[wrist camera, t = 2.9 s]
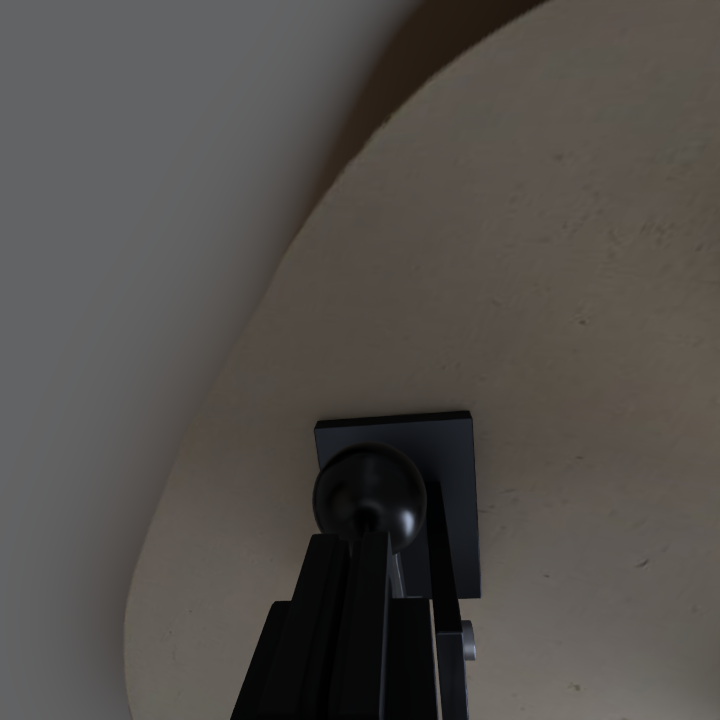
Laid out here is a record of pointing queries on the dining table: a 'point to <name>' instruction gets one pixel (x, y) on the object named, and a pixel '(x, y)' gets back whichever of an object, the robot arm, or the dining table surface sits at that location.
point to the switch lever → (371, 498)
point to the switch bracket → (433, 527)
